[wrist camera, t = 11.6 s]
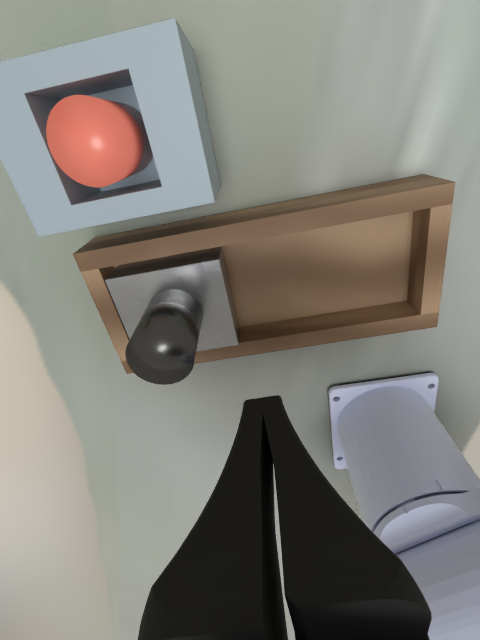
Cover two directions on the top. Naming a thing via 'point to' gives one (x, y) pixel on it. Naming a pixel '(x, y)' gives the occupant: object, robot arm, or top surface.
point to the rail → (305, 265)
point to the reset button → (97, 140)
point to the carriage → (174, 311)
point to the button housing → (120, 86)
